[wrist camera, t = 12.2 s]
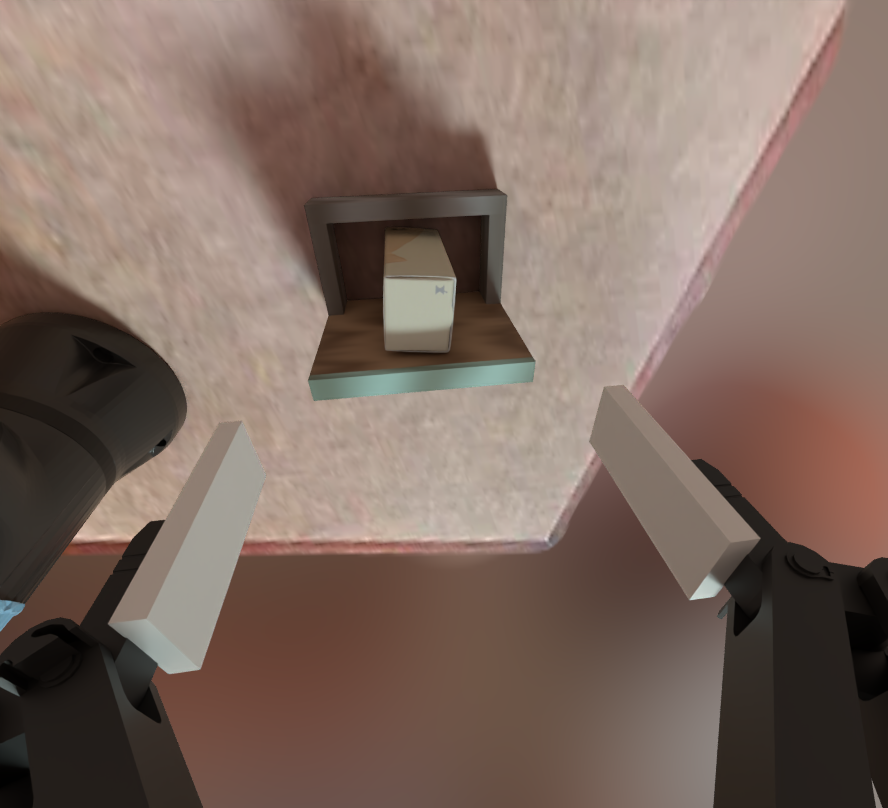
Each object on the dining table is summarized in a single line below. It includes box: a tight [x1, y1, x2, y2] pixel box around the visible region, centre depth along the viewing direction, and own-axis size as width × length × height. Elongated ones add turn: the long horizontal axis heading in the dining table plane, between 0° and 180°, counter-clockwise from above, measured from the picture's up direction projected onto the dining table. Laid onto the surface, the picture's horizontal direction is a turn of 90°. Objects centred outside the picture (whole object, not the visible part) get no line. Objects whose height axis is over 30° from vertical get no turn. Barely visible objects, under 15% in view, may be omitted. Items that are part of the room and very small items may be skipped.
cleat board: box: [304, 189, 535, 401], centre depth 27 cm, size 14×10×13 cm
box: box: [383, 227, 456, 353], centre depth 27 cm, size 5×4×11 cm
